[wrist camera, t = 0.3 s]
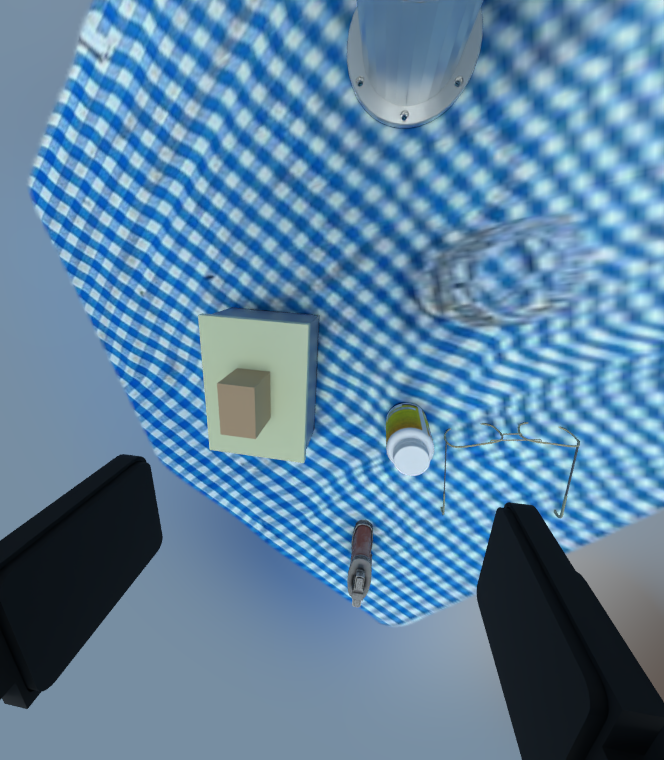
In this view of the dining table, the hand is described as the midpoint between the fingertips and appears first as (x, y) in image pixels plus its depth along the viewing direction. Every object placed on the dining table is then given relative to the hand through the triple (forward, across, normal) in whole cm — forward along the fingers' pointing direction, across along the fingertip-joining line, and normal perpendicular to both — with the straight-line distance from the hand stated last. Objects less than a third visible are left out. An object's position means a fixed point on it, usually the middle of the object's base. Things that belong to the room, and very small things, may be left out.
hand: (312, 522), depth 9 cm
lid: (+30, +13, +8) cm, 34 cm away
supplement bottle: (+36, -6, +14) cm, 39 cm away
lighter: (+36, -2, +37) cm, 52 cm away
